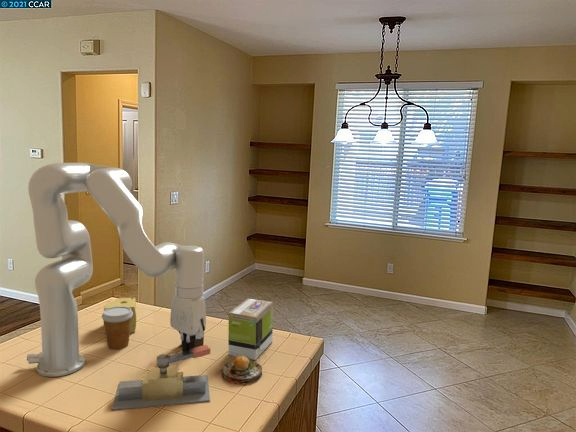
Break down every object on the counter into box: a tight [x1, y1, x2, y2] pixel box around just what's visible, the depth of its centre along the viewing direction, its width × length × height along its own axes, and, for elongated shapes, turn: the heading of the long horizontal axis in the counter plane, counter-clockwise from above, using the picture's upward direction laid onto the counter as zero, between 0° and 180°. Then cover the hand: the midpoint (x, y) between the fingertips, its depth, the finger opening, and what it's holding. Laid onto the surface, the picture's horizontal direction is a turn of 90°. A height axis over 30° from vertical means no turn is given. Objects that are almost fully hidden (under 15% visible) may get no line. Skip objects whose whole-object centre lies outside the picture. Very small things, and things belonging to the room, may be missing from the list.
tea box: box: [227, 297, 274, 361], centre depth 143 cm, size 15×10×15 cm, turn 161°
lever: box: [156, 344, 211, 369], centre depth 117 cm, size 15×3×2 cm, turn 127°
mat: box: [111, 374, 211, 411], centre depth 116 cm, size 24×13×1 cm, turn 103°
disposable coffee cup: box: [101, 306, 133, 351], centre depth 141 cm, size 10×10×12 cm
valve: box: [117, 365, 206, 401], centre depth 114 cm, size 22×6×8 cm, turn 103°
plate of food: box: [221, 356, 263, 385], centre depth 127 cm, size 12×12×8 cm
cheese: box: [102, 297, 137, 336], centre depth 155 cm, size 10×11×10 cm
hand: (188, 353), depth 122 cm, fingers closed
